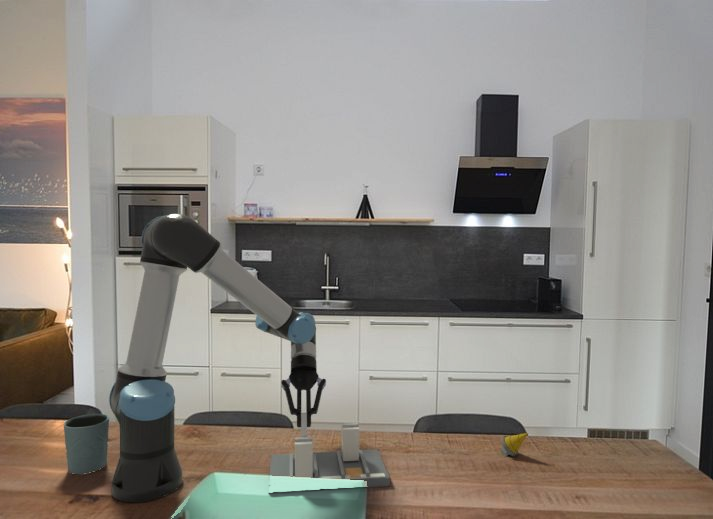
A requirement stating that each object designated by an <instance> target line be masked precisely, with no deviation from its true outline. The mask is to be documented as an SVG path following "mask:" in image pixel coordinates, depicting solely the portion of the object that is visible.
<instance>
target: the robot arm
mask: <svg viewBox="0 0 713 519" xmlns="http://www.w3.org/2000/svg"><path fill="white" fill-rule="evenodd" d="M141 245H142V249H141V250H142V251H141V254H140V260H139V264H140V266H142V268H143V269H144V274H143V277H142V281H141V287H140V292H139V297H138V298H139V299H138V303H137V307H136V312H135V316H134V321H133V323H134V324H133V327H132V333H131V336H130V343H129V347H128V353H127V357H126V362H125V363H124V364H122V365H121V366H119V367H118V368H117V374H116V379H115V382H114V383H113V385H112V387H111V389H110V391H109V392H110V393H109V397H108V398H109V399H108V401H109V403H108V404H109V406H110V409H111V412H112V414H114V416H115V418H116V421H117V422H118V425H119V459H118V462H117V465H116V467H115V471H114V474H113V477H112V480H111V485H110V486H111V496H112V497H113V498H114V499H116V500H118V501H120V502H125V503H143V502H149V501H153V499H154V500H157V499H156V498H158V499H159V498H160V497H161V498H163V497H165V496H164V495H166V496H168V495H170V494H171V492H172V491H173V492H175V491H176V490H177V489H179V488H180V486H181V485H182V483H183V470H182V469H183V468H182V466H181V464H180V463H181V462H180V460H179V458H178V455H177V453H176V449H175V403H176V396H175V390H174V387H173V385H171V384H170V383H169V382H167V381H166V379H167V375H168V373H167V371H166V369H165V368H164V367H163V362H164V356H165V354H166V353H165V352H166V346H167V341H168V336H169V331H170V328H171V327H170V326H171V321H172V315H173V311H174V305H175V301H176V295H177V291H178V286H179V285H178V284H179V280H180V276H181V275H182V274H183V273H185V272H186V271H187V270H188V269H189V270H191V271H192V272H193V273H195V274H198V273H201V274H203V275H205V277H207V278H208V279H209V280H210V281H212V282H213V283H214V284H216V285H217V286H219V288H221V289H223V291H225V292H226V293H227V294H228V295H230V296H231V297H232V298H234V299H235V300H236V301H238V302H239V303H240V304H242V305H243V306H244V307H245V308H247V309H248V310H249V311H251V312H252V313H253V314H254V315H255V316H256V318H255V321H254V322H255V323H254V324H255V326H256V328H257V329H258V330H259V331H263V333H268V334H270V335H271V336H272V335H273V336H275V337H279V338H281V339H284V340H287V341H289V342H290V374H289V375H288V378H286V379H282V380H281V388H282V389H283V391H284V392H285V396H286V400H287V405H288V410H289V413H290V415H292V416H293V415H294V416H296V427H297V428H301V429H300V432H301V433H300V436H301V437H308V428H311V427H312V416H313V415H317V413H318V411H319V406H320V402H321V397H322V394H323V393H322V392H323V390H324V389H325V387H326V384H327V379H326V378H321V377H319V374H318V371H317V369H318V368H317V341H316V338H317V335H316V334H317V333H316V332H317V326H316V319H315V317H314V316H313V315H312V314H311V313H309V312H298V311H296V309H294V308H293V307H291V305H289V304H288V303H287V302H286V301H284V299H282V298H281V297H280V296H279V295H277V294H276V293H275V292H274V291H273V290H272V289H270V288H269V287H268V286H267V285H265V284H264V283H263V282H262V281H261V280H259V279H258V278H257V277H256V276H254V274H252V273H251V272H250V271H249V270H247V268H245V267H244V266H242V264H240V263H239V262H238V261H237V260H235V259H234V258H233V257H232V256H230V255H229V253H227V252H226V251H225V250H223V249H222V243H221V241H219V240H218V239H217V238H215V236H213V235H212V234H211V233H210V232H209V231H207V230H206V229H205V228H204V227H203V226H202V225H201V224H200V223H199V222H197V221H196V220H195V219H194V218H192V217H190V216H188V215H185V214H182V213H171V214H166V215H161V216H157V217H155V218H153V219H152V220H151V221H149V222H148V223H147V225H145V227H144V228H143V230H142V234H141ZM316 383H317V390H316V393H315V398H314V403H313V407H312V399H311V398H312V393H311V392H312V391H311V390H312V389H313V388H314V386H315V385H316ZM291 385H292V386H293V387H294V389H295V390H296V408H295V404H294V401H293V396H292V392H291V389H290V387H291ZM302 391H305V394H306V395H305V396H306V397H305V398H306V399H305V400H306V403H305V404H306V405H305V406H306V407H305V408H306V409H305V410H306V412H302ZM180 484H181V485H180ZM176 488H177V489H176ZM175 489H176V490H175ZM174 490H175V491H174ZM173 492H172V493H173ZM169 493H170V494H169ZM167 494H168V495H167ZM162 496H163V497H162ZM161 498H160V499H161Z"/></svg>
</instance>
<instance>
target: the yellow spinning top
mask: <svg viewBox="0 0 713 519" xmlns="http://www.w3.org/2000/svg"><path fill="white" fill-rule="evenodd" d="M528 435H529V432H526V433H521V434H516V435H515V434H514V435H512V436H511V435H510V436H507V435H505V436H502V437H501V439H500V443H501V445H502V449H501V450H500V453H501V454H502V455H503V456H505V457H508V456H509V455H510V456H511V457H515V456H517V455H518V454H519V449H520V448H521V446H522V444H523V443H524V442H525V440H526V438H527V437H528Z"/></svg>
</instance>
